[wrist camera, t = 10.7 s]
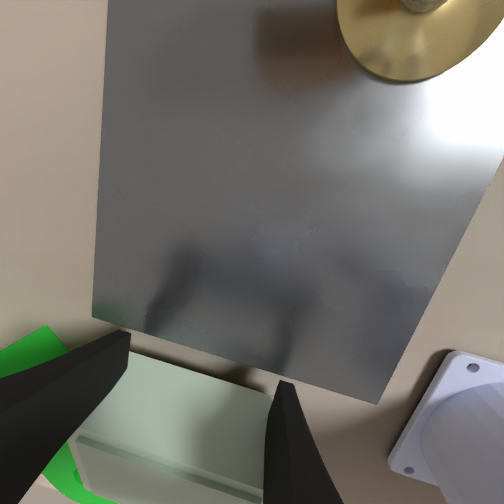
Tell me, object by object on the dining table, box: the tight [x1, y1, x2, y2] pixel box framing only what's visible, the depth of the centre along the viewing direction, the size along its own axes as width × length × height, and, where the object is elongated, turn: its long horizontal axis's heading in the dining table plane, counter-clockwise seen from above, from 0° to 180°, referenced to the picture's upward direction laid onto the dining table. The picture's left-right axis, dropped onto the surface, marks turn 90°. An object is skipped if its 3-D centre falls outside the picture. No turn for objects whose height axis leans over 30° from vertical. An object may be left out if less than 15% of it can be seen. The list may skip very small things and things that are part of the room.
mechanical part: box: [0, 325, 119, 504], centre depth 12 cm, size 12×6×8 cm, turn 33°
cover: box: [67, 351, 274, 504], centre depth 12 cm, size 9×7×4 cm
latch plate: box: [92, 0, 504, 405], centre depth 9 cm, size 15×22×1 cm
